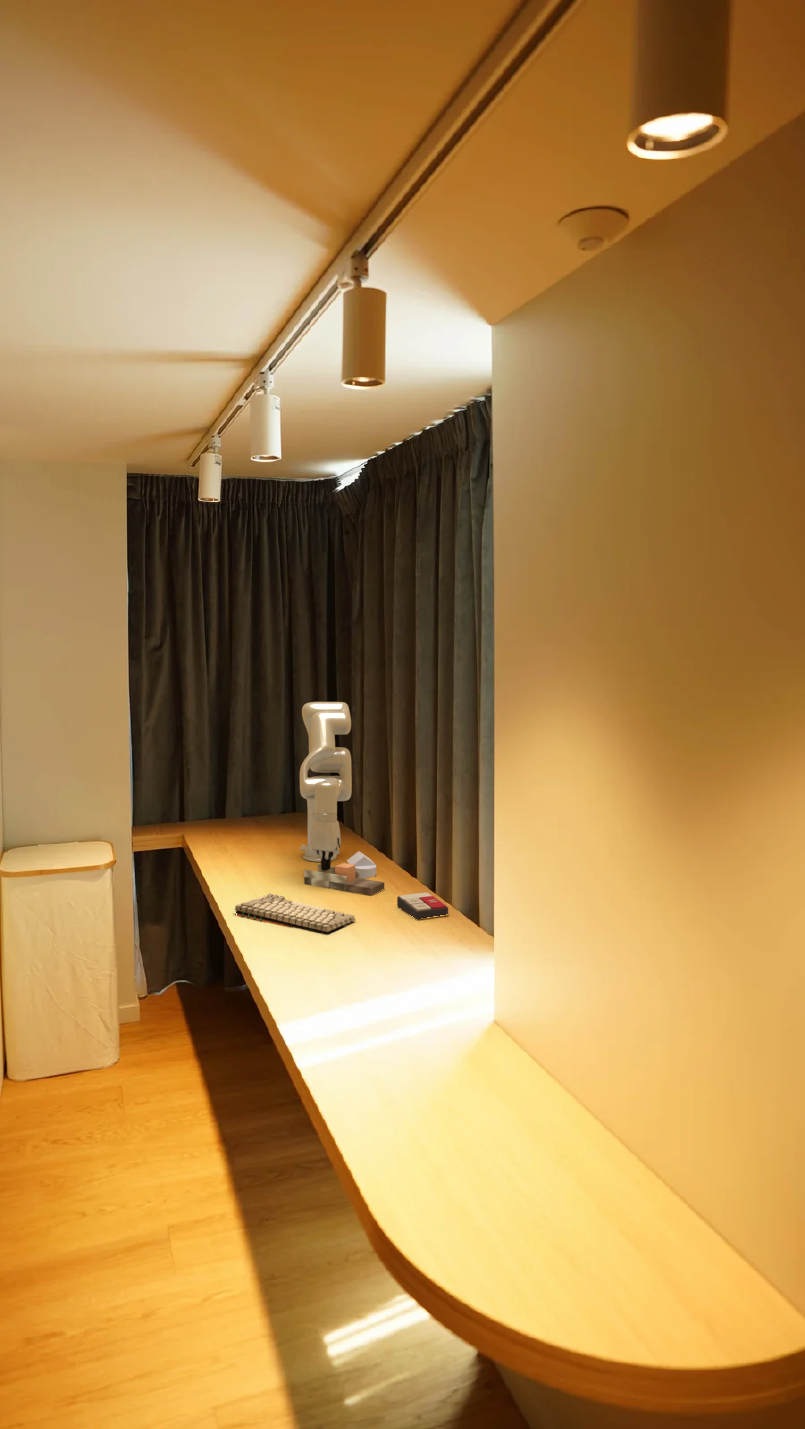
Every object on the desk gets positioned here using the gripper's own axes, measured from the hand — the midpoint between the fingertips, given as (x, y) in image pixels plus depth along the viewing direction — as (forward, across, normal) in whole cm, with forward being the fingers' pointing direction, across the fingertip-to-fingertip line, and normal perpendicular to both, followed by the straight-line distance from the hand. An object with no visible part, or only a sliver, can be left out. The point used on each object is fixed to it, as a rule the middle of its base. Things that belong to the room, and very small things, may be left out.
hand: (325, 869), depth 333 cm
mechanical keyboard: (+7, +12, -35) cm, 37 cm away
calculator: (+6, +43, -10) cm, 44 cm away
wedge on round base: (+5, +4, +18) cm, 20 cm away
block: (+3, +8, 0) cm, 8 cm away
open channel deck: (+5, +7, 0) cm, 8 cm away
